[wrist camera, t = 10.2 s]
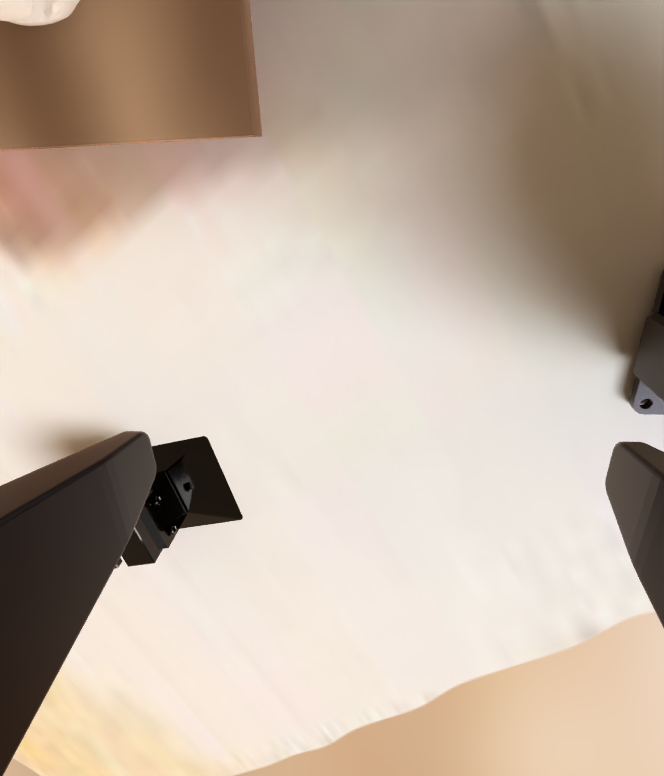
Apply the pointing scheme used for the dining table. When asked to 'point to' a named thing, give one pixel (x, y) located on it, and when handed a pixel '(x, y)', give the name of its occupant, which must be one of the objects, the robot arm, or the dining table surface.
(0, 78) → the walnut stand
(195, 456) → the build plate
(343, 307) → the dining table surface
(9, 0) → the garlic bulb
